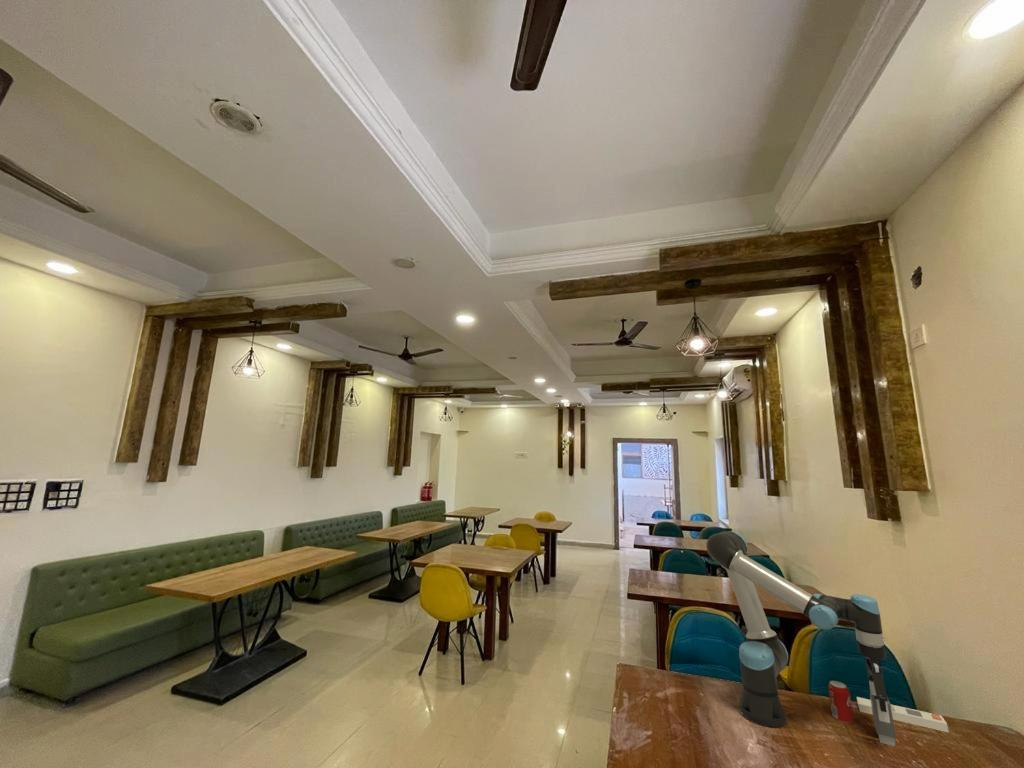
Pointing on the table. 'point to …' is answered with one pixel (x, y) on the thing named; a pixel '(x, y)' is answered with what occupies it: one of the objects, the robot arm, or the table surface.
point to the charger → (883, 724)
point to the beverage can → (840, 702)
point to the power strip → (907, 715)
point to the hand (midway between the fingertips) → (880, 711)
